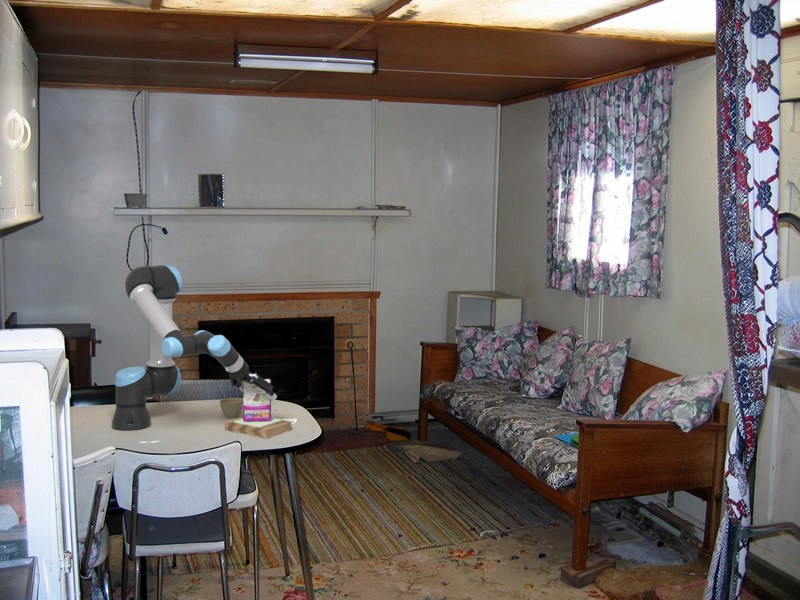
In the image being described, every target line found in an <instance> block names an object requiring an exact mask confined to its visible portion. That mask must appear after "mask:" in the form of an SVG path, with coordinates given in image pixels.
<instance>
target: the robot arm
mask: <svg viewBox="0 0 800 600" xmlns="http://www.w3.org/2000/svg"><path fill="white" fill-rule="evenodd" d="M182 289H183V277H182V274H181V272H180V270H178V268H176V267H175V266H173V265H165V264H162V265H160V264H159V265H150V266H149V265H147V266H145V265H144V266H143V265H142V266H137V267H135V268H134V269H132V270H131V271H130V272H129V273H128V275H126V277H125V281H124V290H125V293H126V296H127V297H128V298H129V300H130V301H131V302H132V303H133V304H136V306H137V307H138V308H139V310H141V312H142V315H144V317H145V318H146V320H147V321H148V323H150V337H149V338H150V345H149V346H150V348H149V349H150V352H149V354H150V355H149V356H150V357H149V360H148V361H147V362H146V365H145V366H146V367H144V366H137V365H136V366H130V367H125V368H122V369H120V370H118V371H117V372H116V374H115V379H114V380H115V381H114V385H115V387H114V388H115V409H114V410H115V411H114V414H113V418H112V420H111V428H112V429H114V430H117V431H118V430H119V431H135V430H143V429H146V428H149V427H150V426H152V425H151V424H152V422H151V421H152V420H151V417H150V414H149V410H148V408H147V399H148V398H153V397H154V398H155V397H160V396H168V395H170V394H173V393H176V392H177V390H179V389H180V386H181V383H182V373H181V370H180V368H179V367H178V365H176V362H175V360H173V358H180V357H187V356H194V355H200V354H201V355H202V354H206V355H209V356H211V357H212V358H214V359H216V360H217V361H218V362H219V363H220V364H221V366H222V367H223V368H224V369H225V371H226V372H227V376H229V379H230V383H231V386H232V387H236V388H238V389H239V390H240V392H242V393H243V381H244V382H248V383H250V384H254V385H255V386H257V387H259V388H260V389H262V390H264V391H265V394H266V395H267V396H268V397H269V398H270V399H271V403H272V402H273V403H274V402H275V401H276V400H277V397H278V396H277V394H276V393H275V392H274V391H273V389H274V387H275V386H274V385H272V383H271V384H270V383H268V382H267V381H266V380H264V379H265V378H263V377H261V375H259V374H258V373H257V372H254V373H252V372H251V371H250V370H249V369H250V367H249V364H248V363H247V362H246V361H245V360H244V359H243V357H242V356H241V355H240V354H239V352H237V350H236V348H234V346H233V345H232V344H231V342H230V341H229V340H228V339H227V338H226V337H225V336H224V335H222V334H217V335H215V334H213V333H211V332H209V331H207V330H204V329H202V330H198V331H196V332H195V333H194V334H189V335H188V334H187V335H184V333H183V332H182V331H181V330H180V328H179V327H178V325H177V324H176V323H175V321H174V320H173V303H174V301H176V300H177V294H179V293H180V292H181V291H182ZM252 379H253V380H252ZM251 380H252V382H251Z"/></svg>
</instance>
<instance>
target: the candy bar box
mask: <svg viewBox="0 0 800 600" xmlns="http://www.w3.org/2000/svg"><path fill="white" fill-rule="evenodd" d="M263 379H264V380H266V381H267V382H268V383H270V384H271V385H272V380H271V378H263ZM252 380H253V379H251V382H252ZM242 383H243V392H242V399H243V408H242V416H243V422H256V421H271V418H272V401H271V399H270V398H269V397H268V396H267V395H266V394H265V391H264V390H262V389H260V388H259V387H257V386H255V385H254V384H250V383H248V382H244V381H242Z"/></svg>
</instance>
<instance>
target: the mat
mask: <svg viewBox="0 0 800 600" xmlns="http://www.w3.org/2000/svg"><path fill="white" fill-rule="evenodd" d="M282 420H283V419H280V418H276V417H271V421H256V422H243V419H240V420H236V421H234V423H239V424H244V425H249V426H254V427H259V428H261V427H264V426H268V425H271V424H274V423H277V422H280V421H282Z"/></svg>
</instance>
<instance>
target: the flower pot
mask: <svg viewBox="0 0 800 600" xmlns="http://www.w3.org/2000/svg"><path fill="white" fill-rule="evenodd" d="M219 404H220V408H221V411H222V413H223V415H224V416H225V417H226V419H235V418H238V417H240V415H241V412H243V398H240V397H229V398H228V397H227V398H223V399H221V400H219Z"/></svg>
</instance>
